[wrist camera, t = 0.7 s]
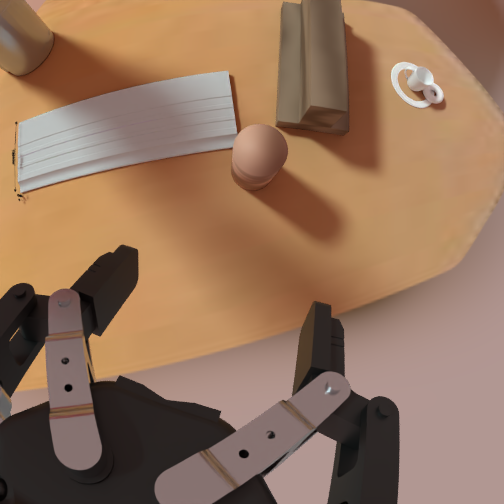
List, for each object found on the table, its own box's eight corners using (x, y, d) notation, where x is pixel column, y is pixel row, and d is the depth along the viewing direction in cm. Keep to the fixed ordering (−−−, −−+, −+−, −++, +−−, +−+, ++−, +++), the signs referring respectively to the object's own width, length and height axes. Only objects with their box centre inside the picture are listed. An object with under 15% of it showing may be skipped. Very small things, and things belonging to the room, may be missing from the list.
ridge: (275, 126, 38) (286, 101, 30) (281, 9, 37) (290, -24, 29) (343, 135, 39) (368, 115, 31) (339, 19, 38) (356, -11, 30)
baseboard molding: (240, 159, 39) (228, 75, 38) (241, 153, 36) (228, 65, 35) (24, 203, 37) (23, 125, 36) (13, 201, 34) (13, 120, 33)
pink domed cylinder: (229, 189, 38) (230, 173, 28) (233, 149, 38) (235, 121, 28) (271, 192, 39) (286, 178, 29) (274, 152, 38) (289, 126, 29)
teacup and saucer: (443, 97, 40) (457, 89, 36) (420, 122, 40) (434, 114, 36) (406, 56, 39) (418, 44, 35) (380, 77, 39) (392, 66, 35)
